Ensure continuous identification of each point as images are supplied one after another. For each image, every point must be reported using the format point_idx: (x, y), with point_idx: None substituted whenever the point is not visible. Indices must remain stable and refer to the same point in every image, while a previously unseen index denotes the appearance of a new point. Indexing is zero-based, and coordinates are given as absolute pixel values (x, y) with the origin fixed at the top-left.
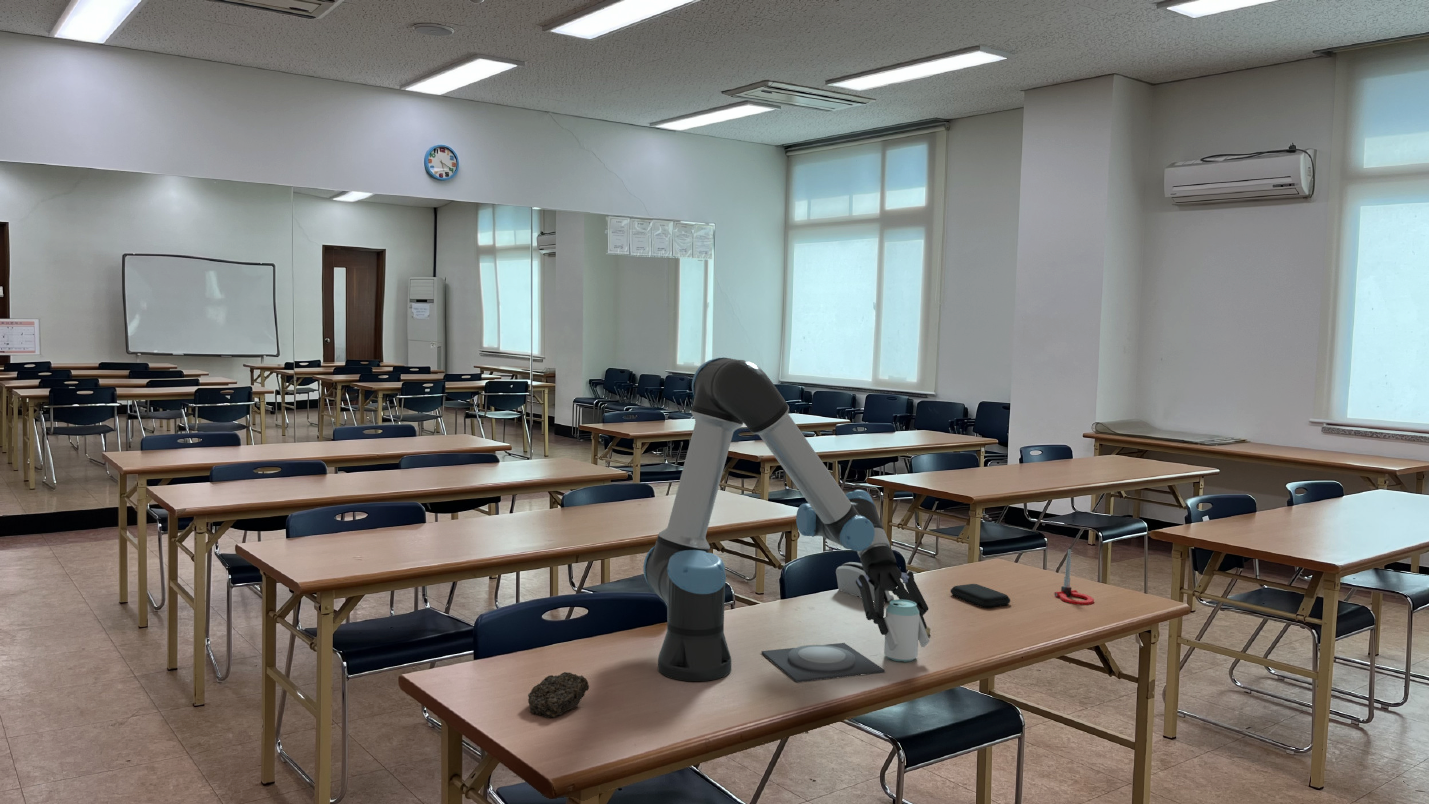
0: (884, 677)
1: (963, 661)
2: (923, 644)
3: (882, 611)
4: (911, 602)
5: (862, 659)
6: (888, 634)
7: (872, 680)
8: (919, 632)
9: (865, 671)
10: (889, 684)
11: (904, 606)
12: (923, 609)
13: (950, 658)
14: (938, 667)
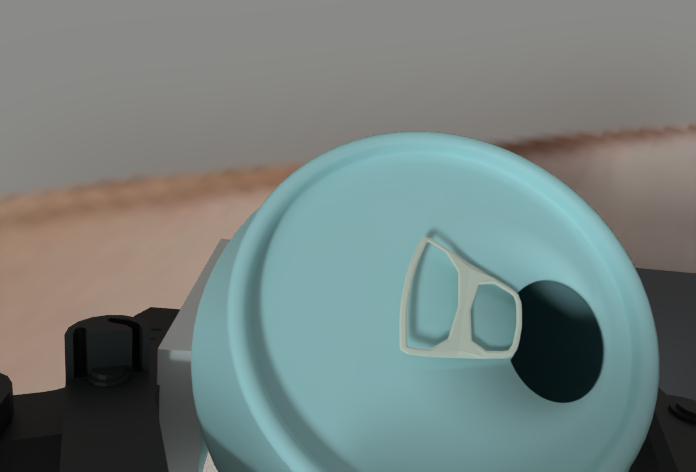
0: None
1: (16, 246)
2: None
3: (685, 439)
4: (250, 342)
5: None
6: None
7: (654, 205)
8: None
9: (674, 278)
10: (593, 144)
11: (472, 216)
12: (79, 324)
13: (44, 316)
14: (234, 224)
